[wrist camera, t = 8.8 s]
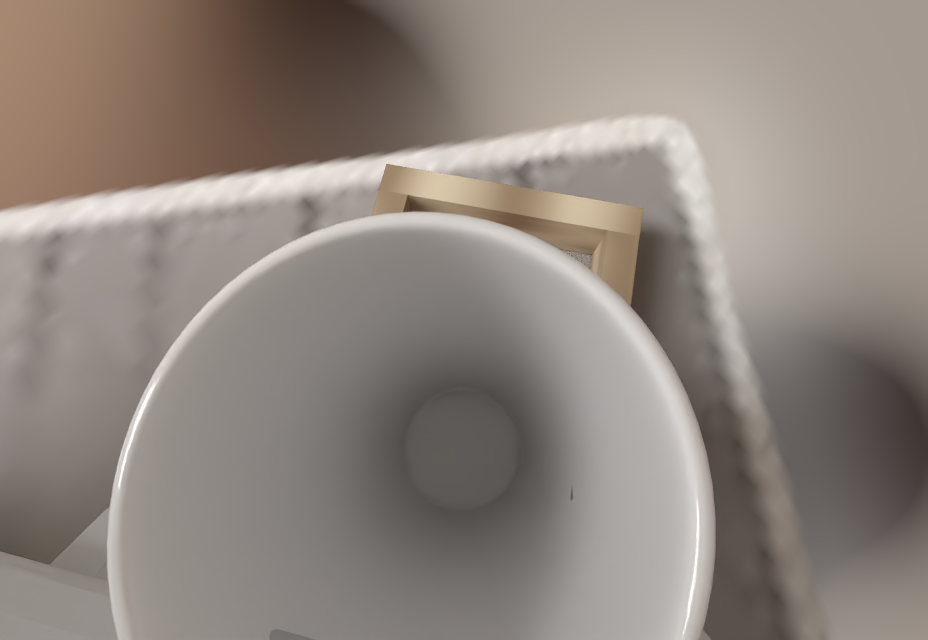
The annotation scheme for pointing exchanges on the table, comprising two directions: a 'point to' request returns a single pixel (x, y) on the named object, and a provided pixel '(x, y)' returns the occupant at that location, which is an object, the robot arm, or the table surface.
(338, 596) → the white cup
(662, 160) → the table surface
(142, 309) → the table surface
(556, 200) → the guide channel
